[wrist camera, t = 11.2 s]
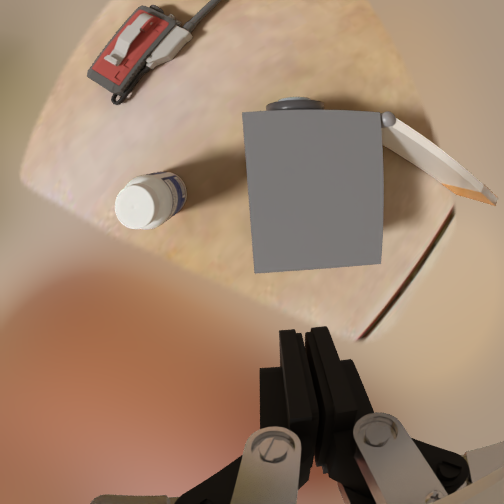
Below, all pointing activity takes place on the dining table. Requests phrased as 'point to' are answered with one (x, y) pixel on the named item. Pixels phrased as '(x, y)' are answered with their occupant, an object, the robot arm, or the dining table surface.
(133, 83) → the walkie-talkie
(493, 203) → the side door
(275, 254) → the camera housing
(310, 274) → the dining table surface
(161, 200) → the pill bottle
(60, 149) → the dining table surface
